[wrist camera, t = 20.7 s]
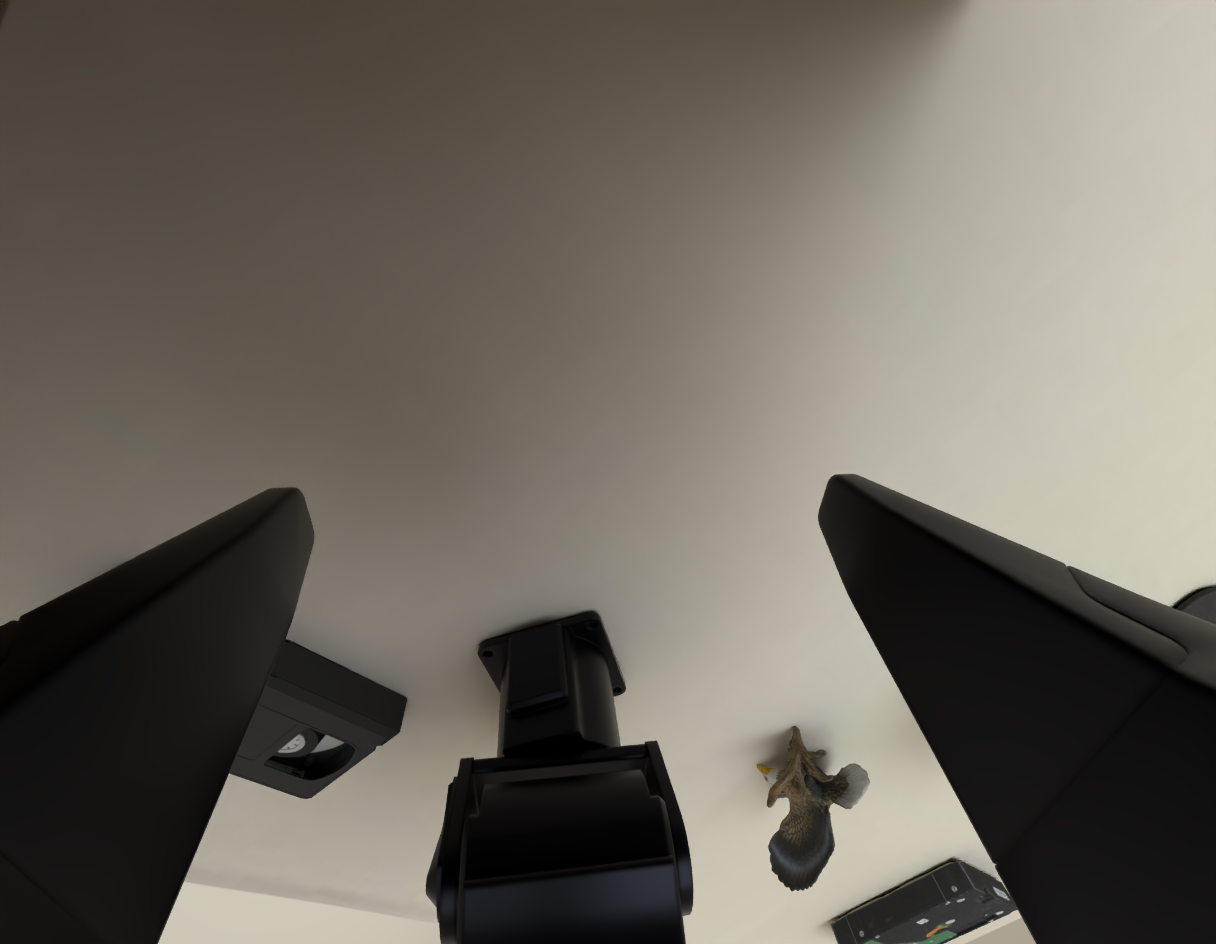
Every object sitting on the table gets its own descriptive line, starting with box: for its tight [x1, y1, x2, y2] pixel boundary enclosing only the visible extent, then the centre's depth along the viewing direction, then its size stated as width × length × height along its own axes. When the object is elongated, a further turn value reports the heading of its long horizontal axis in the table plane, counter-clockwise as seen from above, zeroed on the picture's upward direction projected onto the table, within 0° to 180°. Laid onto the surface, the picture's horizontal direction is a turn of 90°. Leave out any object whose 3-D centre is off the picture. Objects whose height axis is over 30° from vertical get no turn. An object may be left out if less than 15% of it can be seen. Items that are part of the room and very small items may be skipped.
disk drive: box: [831, 861, 1018, 944], centre depth 53 cm, size 10×3×15 cm
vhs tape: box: [229, 641, 407, 799], centre depth 26 cm, size 14×8×2 cm, turn 42°
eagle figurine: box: [757, 726, 870, 891], centre depth 35 cm, size 8×7×9 cm
